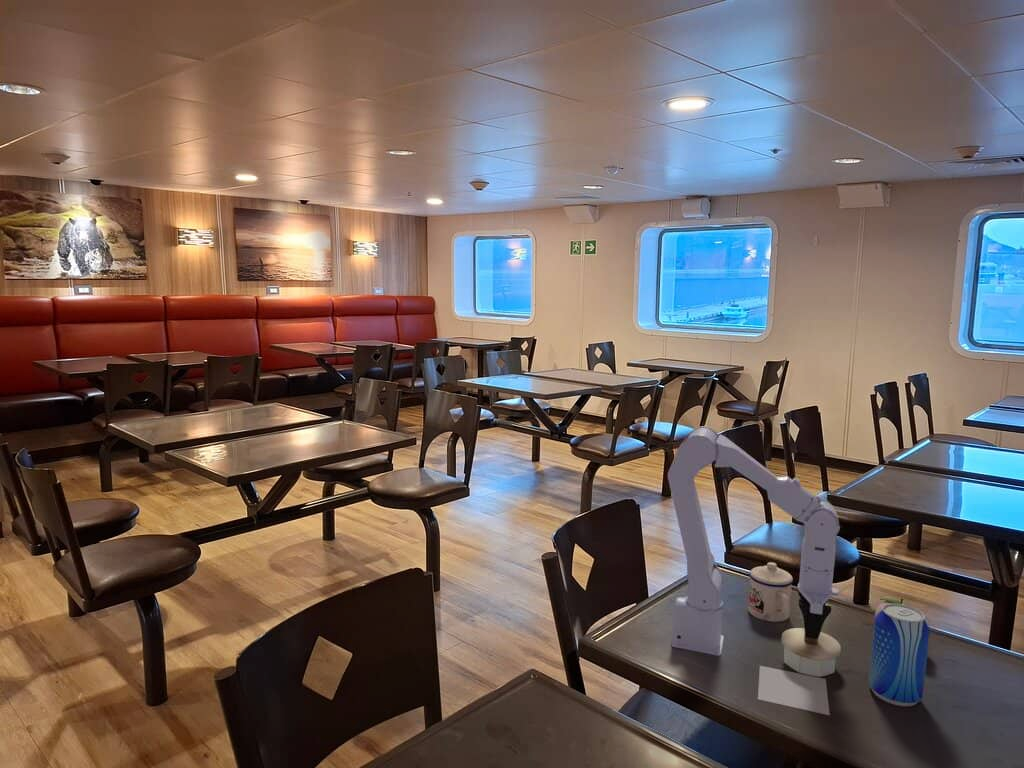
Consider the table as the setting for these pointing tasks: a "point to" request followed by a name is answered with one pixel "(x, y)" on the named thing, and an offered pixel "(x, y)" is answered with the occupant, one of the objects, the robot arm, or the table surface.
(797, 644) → the lid
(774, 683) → the mat
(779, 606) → the teacup with lid
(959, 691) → the table surface
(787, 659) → the bowl
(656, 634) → the table surface
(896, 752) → the table surface
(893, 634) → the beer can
